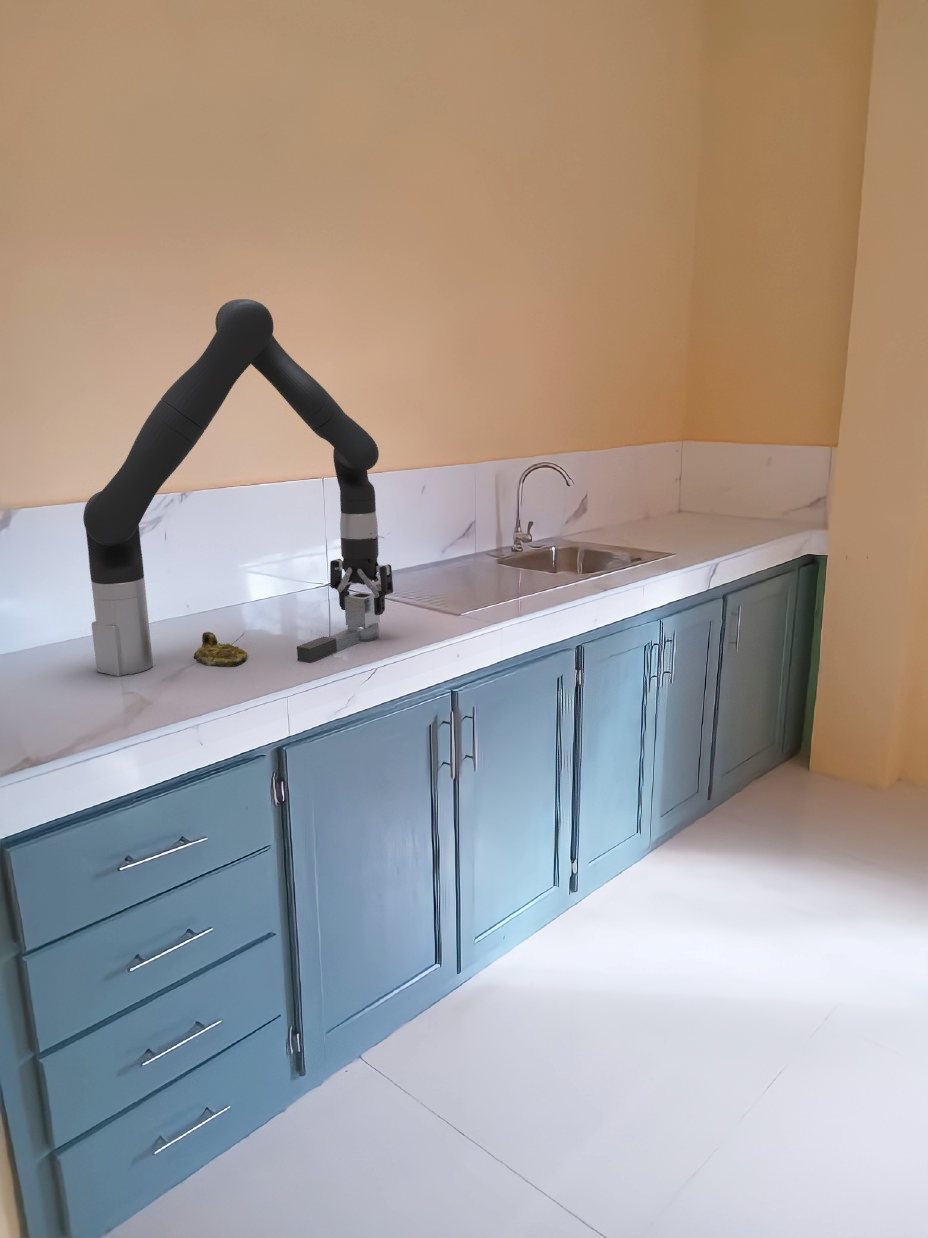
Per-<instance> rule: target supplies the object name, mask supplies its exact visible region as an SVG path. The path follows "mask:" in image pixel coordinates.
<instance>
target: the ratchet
mask: <svg viewBox="0 0 928 1238" xmlns="http://www.w3.org/2000/svg"><path fill="white" fill-rule="evenodd" d="M379 625H380V622H379V623H377V624H374V625H372V626H369V627H367V628H362V627H356V626H350V625H347V629H345V630H343V631H340V632H338V633H334V634H333V635H329V636H321V637H318V638H316V639H313V640H310V641H308V642H306V643H303V644H300V645H298V646H296V654H297V661H298V662H304V663H310V664H311V663H313V662H317V661H318V660H322V659H324V658H326V657H328V656H329V657H330V656H332V655H333V654H336V653H338V652H339V651H342V650H345V649H347V648H349V647H351V646H354V645H356V644H359V643H362V642H363V643H366V642H372V641H376V640H379V638H380V628H379V627H380V626H379Z"/></svg>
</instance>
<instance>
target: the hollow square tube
mask: <svg viewBox="0 0 928 1238" xmlns="http://www.w3.org/2000/svg"><path fill="white" fill-rule="evenodd" d="M374 598H375V596H374V594H373V592H366V591H365V592H364V591H357V592H355V593H351V594H350V595H348V596H345V610H344V612H345V613H344V615H345V625H346V626H348V625H350V626H356V627H362V628H367V627H369V626H372V625H374V624H377V623H379V624H380V622H381V621H380V616H381V615H375V614H374Z"/></svg>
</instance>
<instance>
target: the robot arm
mask: <svg viewBox="0 0 928 1238" xmlns="http://www.w3.org/2000/svg"><path fill="white" fill-rule="evenodd" d="M215 329H216V330H215V332H214V335H213V337H212V339H211V340H210V341H209V344H208V345H207V347H206V348H205V350H204V351H203V353H201V355H200V357H199V358H198V359H197V360H196V361H195V362H194V364H192V365H191V367H189V368H188V369H187V370H186V371H185V372H184V373H183V374H181V376H179V377H178V378H177V380H176V381H174V383H173V384H172V385H171V386H170V387H169V388H167V390H166V392H165V393H164V394H163V395H162V397H161V398H160V399H159V400H158V402H157V403H156V405H155V406H154V407H153V409H152V411H151V412H150V414H149V415H148V417H147V419H145V421H144V423H143V425H142V426H141V428H140V431H139V432H138V434H137V437H136V438H135V440H134V442H133V444H132V446H131V448H130V450H129V452H128V455H127V457H126V459H125V460H124V462H123V464H122V465H121V467H120V468H119V470H118V471H117V472H116V473H115V475H114V476H113V477H112V478H111V479H110V481H109V482H108V483H107V484H106V485H105V487H103V489H102V490H101V491H97V492H96V493H94V494H93V495H92V496H91V497H90V498H89V499H88V501H87V502H86V504H85V506H84V510H83V515H82V516H83V517H82V518H83V519H82V520H83V525H84V528H85V535H86V543H87V551H88V552H87V553H88V564H89V565H88V566H89V574H90V582H91V590H92V598H93V609H94V616H95V617H94V618H95V621H92V622H91V633H92V640H93V641H92V642H93V648H94V656H95V658H94V659H95V667H96V672H98V673H103V674H108V675H112V676H116V677H120V676H125V675H130V674H137V673H140V672H144V671H147V670H149V669H151V668H153V666H154V662H153V652H152V642H151V641H152V640H151V632H150V631H151V630H150V623H149V622H150V621H149V612H148V611H149V610H148V602H147V591H146V580H145V572H144V562H143V554H142V553H143V552H142V545H141V535H140V534H141V533H140V523H141V521H142V519H143V517H144V515H145V514H146V511H147V510H148V508H149V506H150V504H151V503H152V501H153V500H154V498H155V496H156V494H157V493H158V491H159V490H160V488H161V487H162V485H164V483H165V482H166V481H167V480H168V479H169V478H170V476H171V475H172V474H174V472H175V471H176V470H177V468H178V467H179V466H180V465H181V464H182V462H184V460H185V459H186V457H188V454H190V452H191V451H192V450H193V448H194V447H195V446H196V444H197V443H198V441H200V439H201V437H202V436H203V434H204V433H205V431H206V430H207V429H208V427H209V425H210V423H211V422H212V421H213V419H214V417H215V416H216V414H217V413H218V412H219V410H220V408H221V406H222V405H223V404H224V402H225V400H226V398H227V397H228V395H229V393H230V391H231V389H232V388H233V387H234V385H235V384H236V382H237V381H238V379H239V378H240V377H241V376H242V374H243V373H244V372H245V371H246V370H247V368H249V366H252V367H253V368H254V369H256V370H257V371H258V373H260V374H261V375H262V376H263V377H264V378H265V379H266V380H267V381H268V382H269V384H271V386H273V388H275V390H276V391H277V392H278V393H279V394H280V395H281V397H282V398H283V399H284V400H285V401H286V402H287V404H288V405H289V406H290V407H291V408H292V409H293V410H294V411H295V413H296V414H297V415H298V416H299V417H300V418H301V419H302V420H303V422H304V423H305V424H306V425H307V426H308V427H309V428H310V430H311V431H312V432H314V434H316V436H318V437H320V438H321V439H323V440H325V441H326V442H328V443H329V444H330V445H331V446H332V447H333V457H332V458H333V464H334V471H335V475H336V479H337V483H338V486H339V491H340V492H339V494H340V495H339V502H340V521H339V526H340V527H339V528H340V529H339V530H340V533H339V534H340V552H341V553H340V554H341V557H342V559H341V558H336V559H333V560H330V563H329V564H330V565H329V567H330V568H329V572H330V573H329V575H330V577H329V583H330V584H329V585H330V586H329V587H330V588H331V589H335V590H336V591H337V592H338V602H339V607H340V609H341V611H345V596H348V595H351V594H350V590H349V589H351V586H352V585H353V584H359V585H363V586H366V587H367V588H368V589H369V590H371V593H373V594H374V596H375V598H374V614H375V615H380V616H381V615H383V614H384V612H385V610H386V605H385V604H386V600H385V598H386V596H387V595H391V594H392V593H394V586H393V585H394V584H393V583H394V582H393V571H392V565H391V564H389V563H388V564H385V565H383V564H382V565H381V564H379V562H378V557H379V534H378V531H379V530H378V527H379V526H378V519H377V512H376V511H377V509H376V491H375V486H374V485H373V484H372V482H371V481H370V480H369V476H368V475H369V474H368V470H370V469H372V468H373V467H375V466H376V464H377V463H378V460H379V455H380V454H379V453H380V452H379V448H378V445H377V443H376V441H375V439H373V437H372V436H371V435H370V434H369V433H368V432H367V430H365V429H364V428H363V427H362V426H360V425H359V424H358V422H356V421H355V420H354V419H353V418H351V417H350V416H349V415H348V414H346V413H345V411H344V410H343V409H342V408H341V406H340V405H339V404H338V403H337V401H336V400H335V399H334V398H333V397H332V395H330V394H329V392H328V391H327V390H326V389H325V388H324V387H323V386H322V384H320V383H319V382H318V381H317V380H316V379H315V378H314V377H312V375H311V374H310V373H308V372H307V371H306V370H305V369H304V368H303V367H302V366H300V365H299V363H297V362H296V361H295V360H294V359H293V357H291V356H290V355H289V353H287V351H286V350H285V349H284V348H283V347H282V346H281V344H280V343H279V342H278V341H277V339H276V338H275V336H274V335H273V333H274V320H273V316H272V314H271V312H270V310H269V308H267V307H266V306H265V305H264V304H262V303H261V302H259V301H257V300H253V299H249V298H248V299H247V298H240V299H239V298H238V299H233V300H230V301H227V302H225V303H224V304H223V305H222V306H220V308H219V309H218V311H217V313H216V316H215ZM343 571H344V573H345V574H344V575H343Z"/></svg>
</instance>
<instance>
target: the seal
mask: <svg viewBox="0 0 928 1238" xmlns="http://www.w3.org/2000/svg"><path fill="white" fill-rule="evenodd" d="M201 639H202V644H201V647H200V648H198V649H197V650H196V651H195V652H194V655H193V659H194V660H195V661H197V662H198V663H199V664H201V665H204V666H208V667H209V666H210V667H218V668H219V667H220V668H224V667H225V668H227V667H228V668H232V667H237V666H240V665H241V664H242V663H245V662H247V660H248V657H249V656H248V653H247V651H245V650H244V649H243V648H239V646H237V645H236V646H235V645H232V644H230V643H224V644H222V643H219V641H218V639H217V636H216V635H215V634H214V632H211V631H205V632H203V633H202V637H201Z"/></svg>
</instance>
